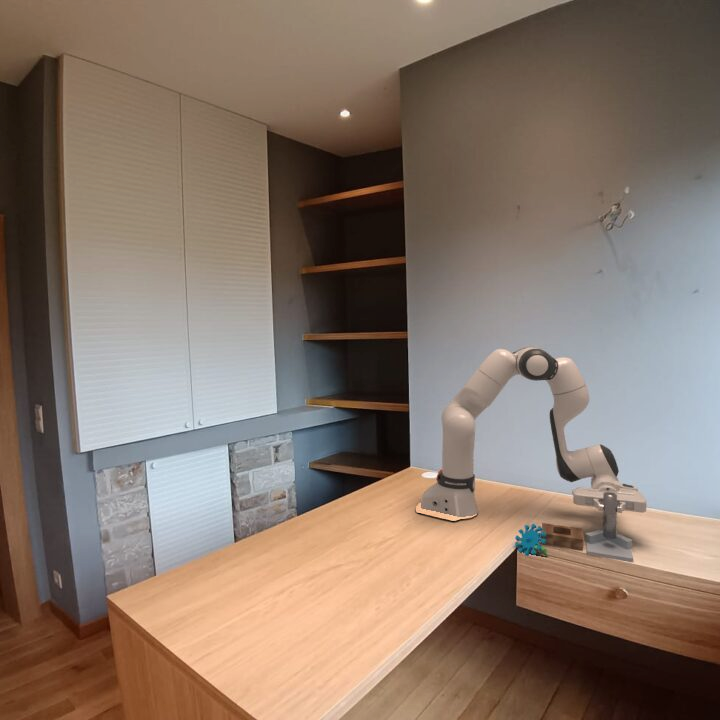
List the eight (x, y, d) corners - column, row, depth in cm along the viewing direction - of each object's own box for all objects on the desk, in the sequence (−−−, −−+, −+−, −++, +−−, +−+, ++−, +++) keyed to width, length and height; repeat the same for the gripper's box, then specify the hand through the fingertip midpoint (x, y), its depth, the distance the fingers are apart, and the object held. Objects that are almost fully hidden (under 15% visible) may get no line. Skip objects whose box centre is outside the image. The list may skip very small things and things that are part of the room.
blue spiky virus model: (507, 540, 149) (529, 516, 149) (517, 550, 151) (538, 526, 151) (530, 562, 138) (553, 536, 139) (540, 572, 141) (563, 547, 141)
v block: (585, 554, 143) (585, 542, 142) (584, 536, 153) (584, 526, 153) (634, 562, 137) (635, 550, 137) (630, 543, 148) (630, 532, 148)
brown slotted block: (540, 543, 149) (540, 533, 149) (542, 533, 157) (542, 522, 156) (583, 550, 145) (583, 539, 144) (582, 539, 152) (582, 528, 152)
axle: (603, 537, 144) (603, 495, 143) (602, 532, 148) (603, 491, 146) (616, 539, 143) (617, 497, 142) (615, 534, 146) (616, 493, 145)
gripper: (572, 480, 160) (572, 494, 147) (642, 487, 152) (649, 503, 139) (571, 498, 161) (572, 514, 148) (642, 506, 152) (648, 524, 140)
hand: (610, 509), depth 143 cm, fingers closed on axle, 4 cm apart
